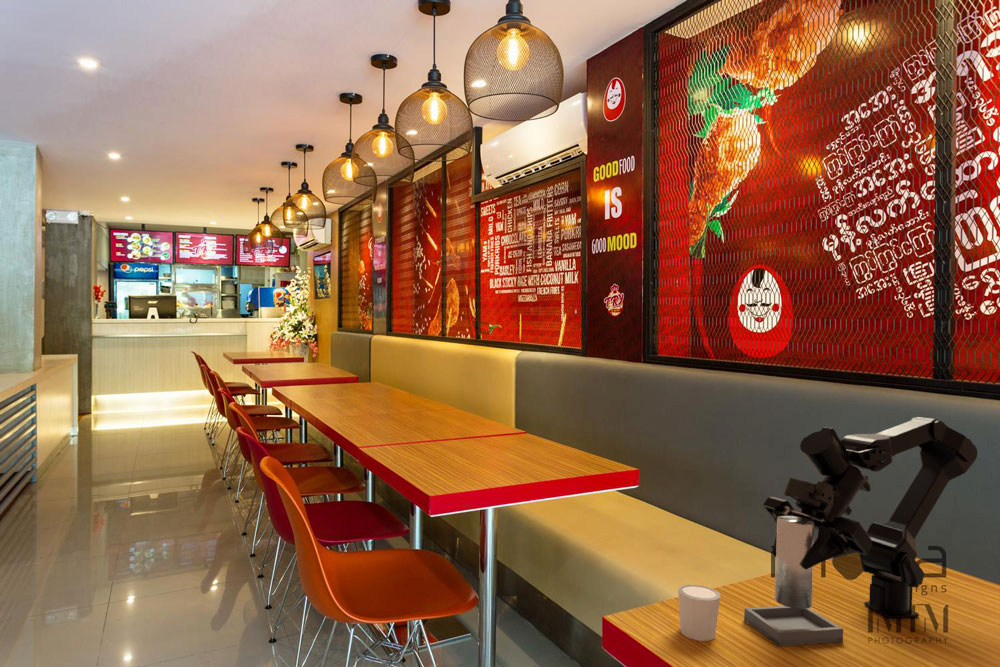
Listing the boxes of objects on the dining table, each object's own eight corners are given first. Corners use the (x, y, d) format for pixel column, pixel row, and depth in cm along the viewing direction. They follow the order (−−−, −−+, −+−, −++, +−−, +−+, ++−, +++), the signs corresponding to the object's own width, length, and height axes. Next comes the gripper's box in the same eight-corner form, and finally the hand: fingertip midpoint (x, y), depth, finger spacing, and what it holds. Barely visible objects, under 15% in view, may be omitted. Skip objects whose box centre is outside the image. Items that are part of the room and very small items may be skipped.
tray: (803, 617, 117) (803, 604, 117) (842, 642, 107) (843, 628, 107) (744, 620, 114) (744, 608, 114) (778, 646, 105) (779, 632, 105)
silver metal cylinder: (788, 592, 115) (790, 514, 115) (818, 604, 110) (821, 522, 110) (767, 598, 112) (769, 518, 112) (797, 611, 107) (800, 527, 107)
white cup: (722, 645, 104) (723, 601, 104) (678, 639, 106) (679, 596, 106) (716, 627, 111) (717, 586, 111) (675, 622, 112) (676, 582, 113)
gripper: (771, 453, 121) (724, 516, 117) (862, 473, 104) (811, 548, 99) (800, 492, 124) (755, 555, 120) (893, 517, 107) (845, 592, 103)
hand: (788, 561), depth 110 cm, fingers closed on silver metal cylinder, 6 cm apart
